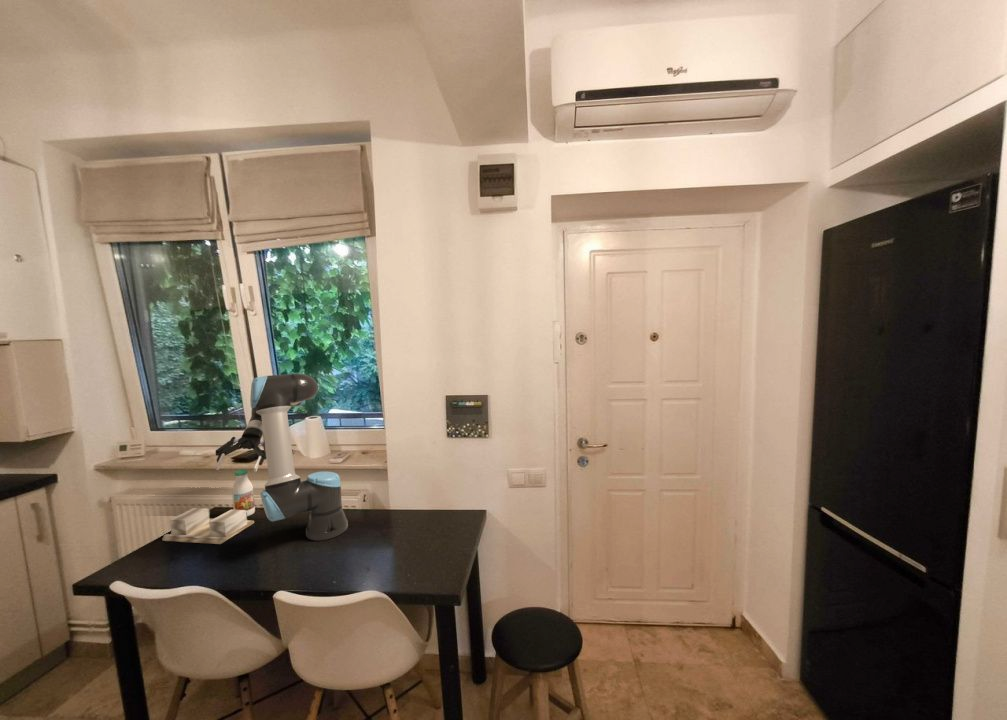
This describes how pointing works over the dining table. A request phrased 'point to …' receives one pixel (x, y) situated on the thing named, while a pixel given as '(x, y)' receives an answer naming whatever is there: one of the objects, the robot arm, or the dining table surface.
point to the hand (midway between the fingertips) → (236, 469)
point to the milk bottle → (243, 493)
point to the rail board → (207, 526)
